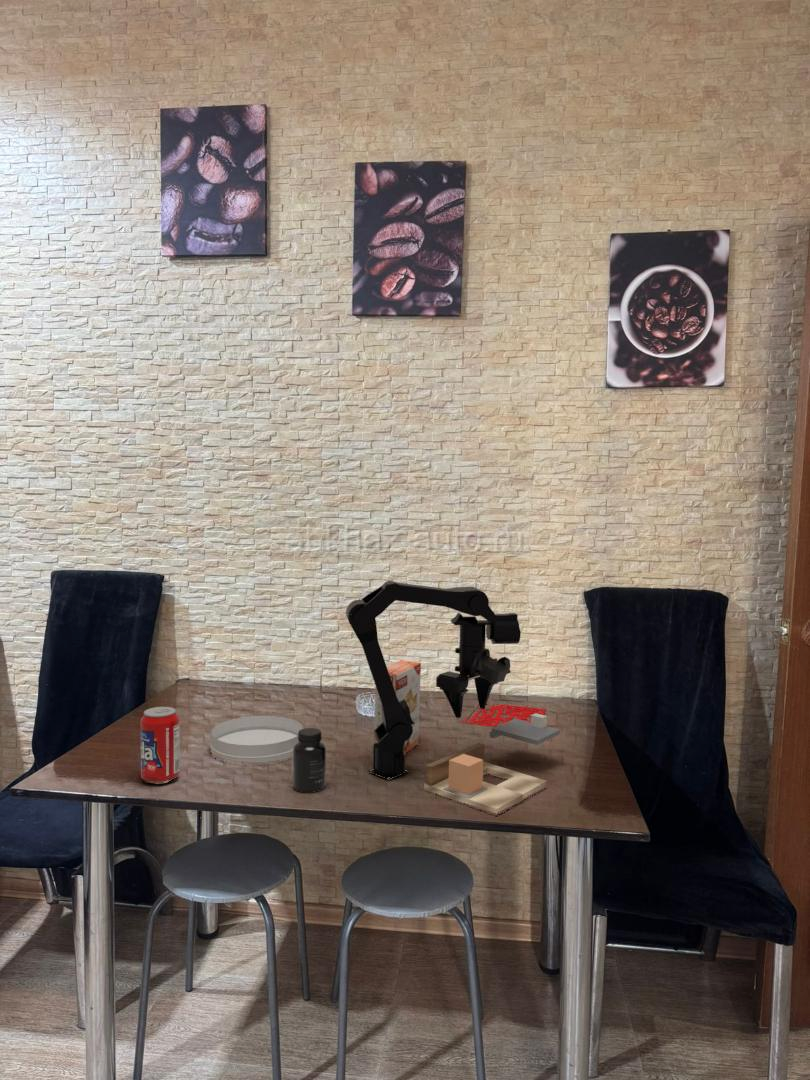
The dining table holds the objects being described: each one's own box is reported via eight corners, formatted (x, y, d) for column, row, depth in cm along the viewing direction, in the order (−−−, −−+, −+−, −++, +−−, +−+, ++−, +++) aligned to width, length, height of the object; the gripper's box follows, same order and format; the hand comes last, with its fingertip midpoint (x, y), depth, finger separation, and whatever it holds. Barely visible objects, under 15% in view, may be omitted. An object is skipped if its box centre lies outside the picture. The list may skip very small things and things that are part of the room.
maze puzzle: (461, 724, 203) (461, 721, 203) (477, 704, 222) (477, 701, 222) (535, 733, 197) (535, 730, 197) (545, 711, 216) (545, 709, 216)
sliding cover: (489, 737, 175) (490, 717, 174) (513, 727, 182) (513, 707, 182) (537, 750, 166) (537, 729, 166) (559, 739, 174) (560, 719, 174)
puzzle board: (424, 790, 158) (424, 765, 157) (477, 766, 172) (477, 742, 172) (496, 816, 146) (497, 788, 146) (546, 787, 160) (547, 762, 160)
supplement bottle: (286, 786, 159) (286, 730, 158) (312, 778, 164) (312, 723, 163) (306, 796, 154) (306, 738, 153) (332, 787, 159) (332, 731, 158)
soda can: (183, 782, 160) (183, 713, 159) (145, 789, 156) (144, 718, 155) (174, 770, 167) (174, 703, 165) (137, 776, 163) (137, 708, 162)
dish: (285, 771, 168) (285, 749, 168) (193, 762, 172) (193, 741, 172) (316, 738, 190) (316, 719, 189) (233, 731, 194) (233, 712, 194)
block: (448, 788, 155) (449, 760, 154) (462, 781, 159) (463, 753, 158) (468, 795, 152) (469, 766, 151) (482, 788, 155) (483, 759, 155)
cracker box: (395, 764, 172) (397, 674, 171) (372, 760, 175) (373, 671, 173) (420, 745, 185) (422, 661, 184) (398, 741, 188) (399, 658, 186)
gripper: (477, 656, 155) (475, 731, 157) (525, 643, 170) (523, 711, 171) (435, 648, 163) (433, 719, 164) (484, 636, 177) (483, 701, 178)
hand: (470, 713), depth 169 cm, fingers open, 9 cm apart
